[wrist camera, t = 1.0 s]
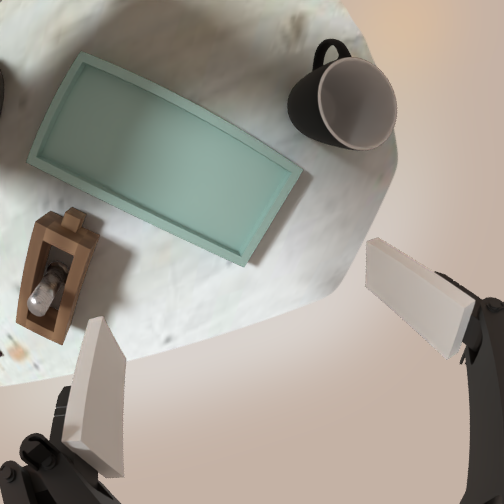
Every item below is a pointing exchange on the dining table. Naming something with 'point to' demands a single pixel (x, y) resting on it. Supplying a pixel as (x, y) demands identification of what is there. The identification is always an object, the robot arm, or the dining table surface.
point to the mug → (343, 101)
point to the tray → (162, 159)
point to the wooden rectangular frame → (43, 236)
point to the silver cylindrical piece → (48, 288)
